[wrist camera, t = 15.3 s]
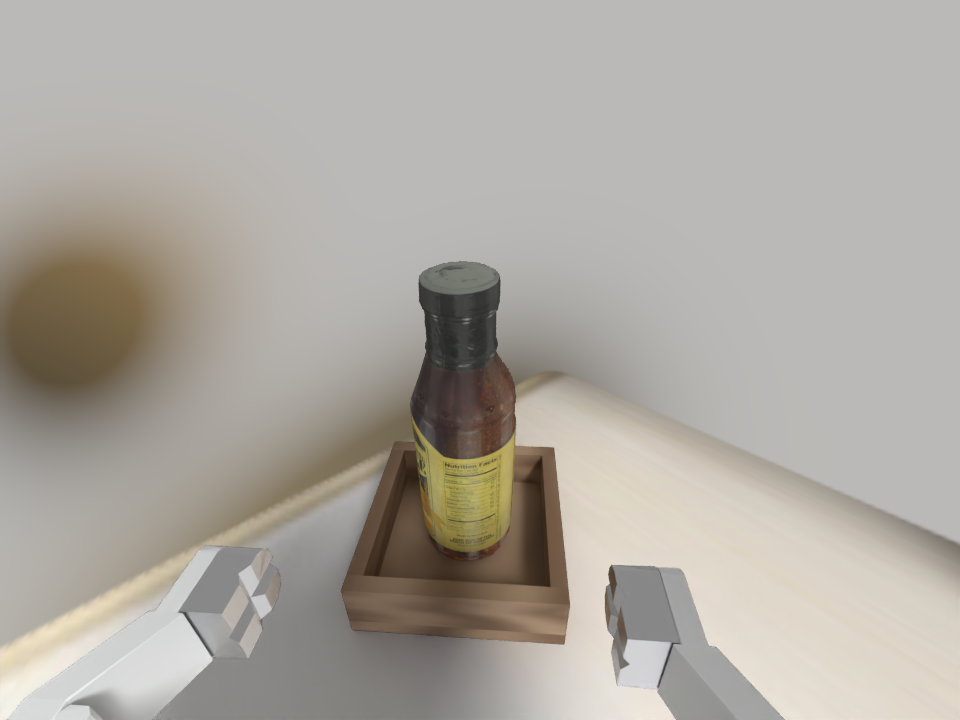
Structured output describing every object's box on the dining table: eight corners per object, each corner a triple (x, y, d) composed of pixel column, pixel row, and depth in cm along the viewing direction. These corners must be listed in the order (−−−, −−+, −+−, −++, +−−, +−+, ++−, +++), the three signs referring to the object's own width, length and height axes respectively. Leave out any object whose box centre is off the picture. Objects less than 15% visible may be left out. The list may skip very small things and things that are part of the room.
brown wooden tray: (550, 483, 38) (554, 447, 36) (564, 644, 27) (570, 605, 25) (400, 477, 39) (394, 441, 37) (352, 629, 28) (340, 590, 26)
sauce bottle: (441, 489, 36) (424, 245, 26) (518, 503, 35) (532, 254, 24) (411, 560, 31) (373, 289, 20) (500, 581, 29) (509, 303, 19)
